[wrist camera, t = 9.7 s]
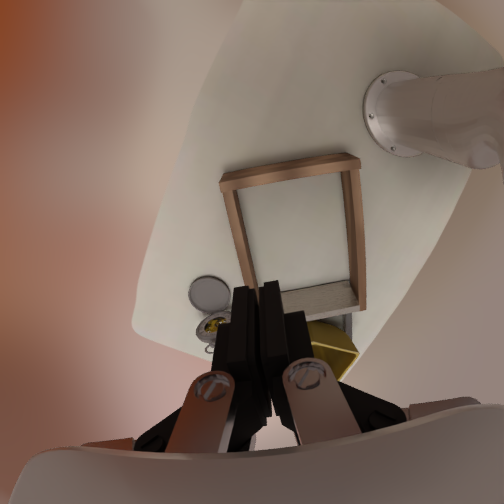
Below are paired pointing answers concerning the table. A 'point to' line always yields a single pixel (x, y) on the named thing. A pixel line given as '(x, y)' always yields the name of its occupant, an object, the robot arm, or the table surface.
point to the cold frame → (294, 170)
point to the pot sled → (323, 302)
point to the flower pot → (332, 347)
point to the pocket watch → (210, 307)
